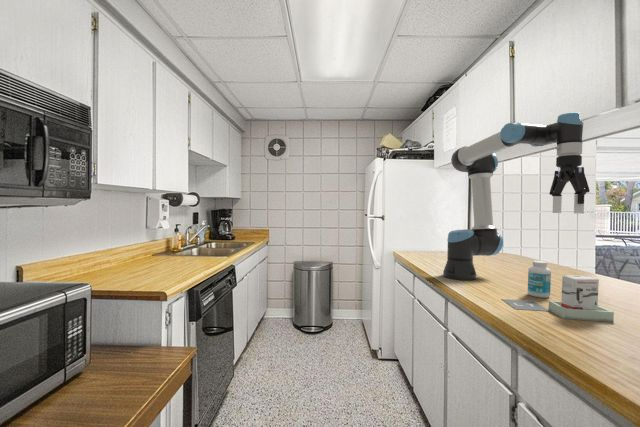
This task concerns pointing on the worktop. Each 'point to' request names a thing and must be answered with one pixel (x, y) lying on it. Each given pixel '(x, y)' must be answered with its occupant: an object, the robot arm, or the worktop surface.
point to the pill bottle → (539, 280)
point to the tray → (581, 313)
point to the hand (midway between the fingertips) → (567, 213)
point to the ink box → (579, 292)
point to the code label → (525, 305)
